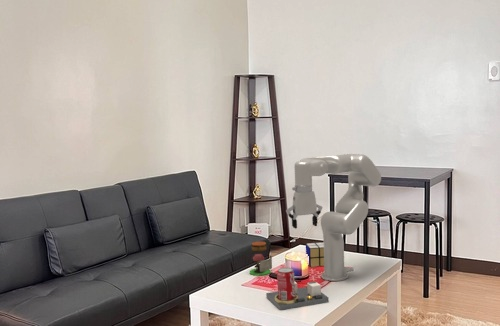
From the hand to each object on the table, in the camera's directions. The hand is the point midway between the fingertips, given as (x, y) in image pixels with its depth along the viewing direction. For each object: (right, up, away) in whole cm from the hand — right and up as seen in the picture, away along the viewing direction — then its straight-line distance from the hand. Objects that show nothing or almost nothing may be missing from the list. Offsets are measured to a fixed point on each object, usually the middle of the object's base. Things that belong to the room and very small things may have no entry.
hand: (304, 226), depth 246 cm
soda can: (-9, -29, -16) cm, 34 cm away
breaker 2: (+3, -27, -12) cm, 30 cm away
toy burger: (-20, -27, +28) cm, 43 cm away
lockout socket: (-9, -29, -16) cm, 34 cm away
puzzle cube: (+10, -24, +39) cm, 47 cm away
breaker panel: (-5, -30, -11) cm, 32 cm away
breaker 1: (-7, -27, -8) cm, 29 cm away
